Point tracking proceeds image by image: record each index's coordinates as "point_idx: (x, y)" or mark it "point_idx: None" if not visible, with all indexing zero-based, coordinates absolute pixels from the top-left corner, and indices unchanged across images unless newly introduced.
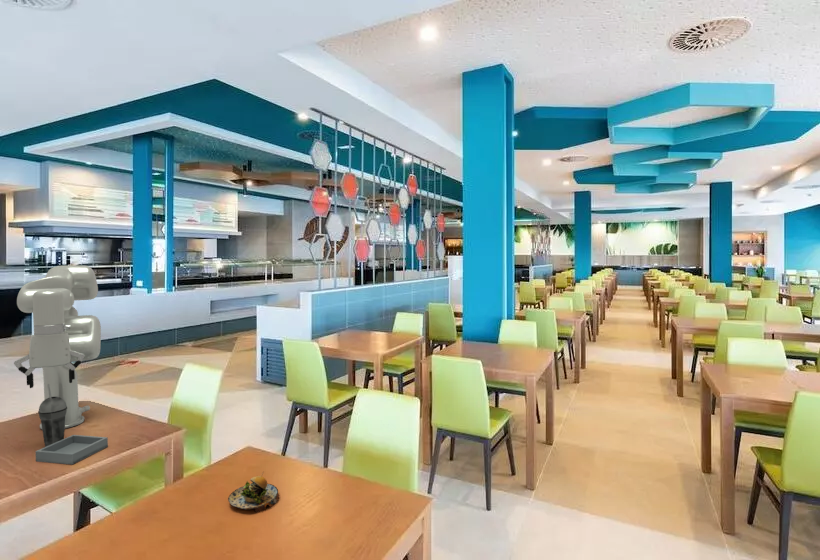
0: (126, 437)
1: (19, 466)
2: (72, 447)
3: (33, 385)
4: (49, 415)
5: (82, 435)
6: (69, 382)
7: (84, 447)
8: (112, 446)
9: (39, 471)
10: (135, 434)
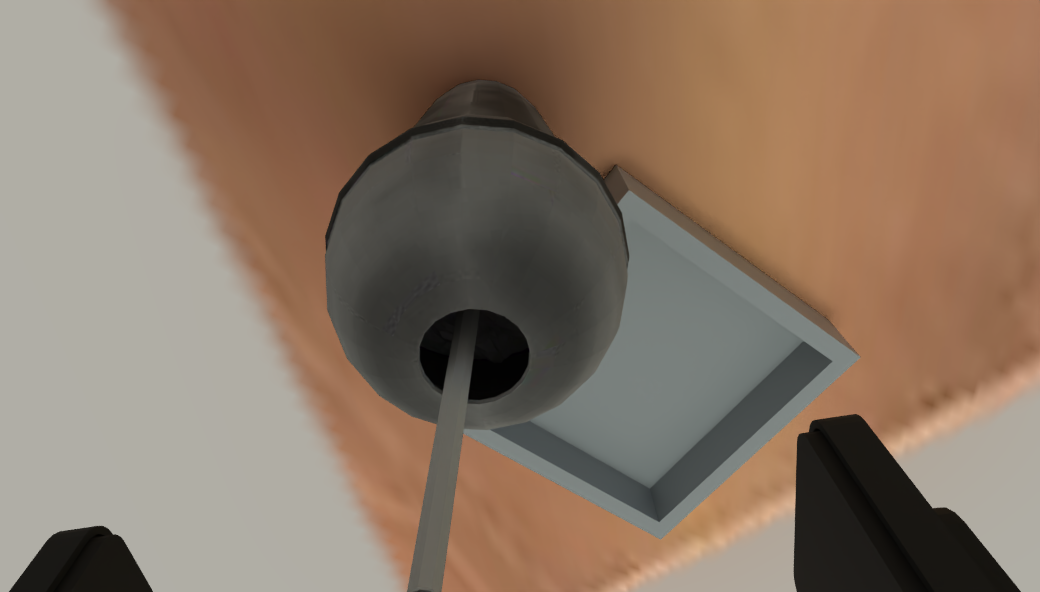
0: (965, 190)
1: (375, 413)
2: (626, 294)
3: (123, 552)
4: (475, 370)
5: (697, 240)
6: (801, 588)
7: (719, 469)
8: (855, 324)
9: (503, 509)
10: (1036, 151)
